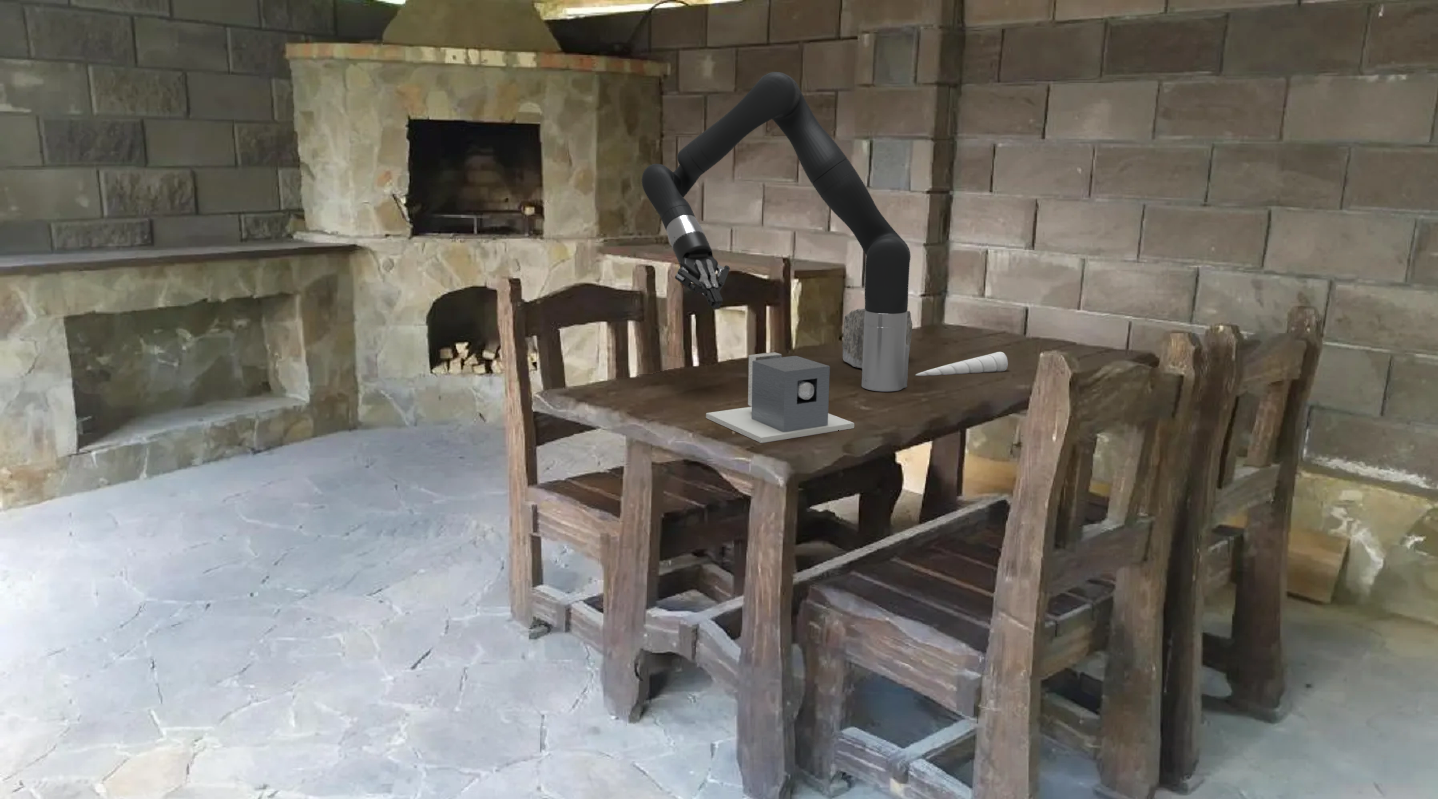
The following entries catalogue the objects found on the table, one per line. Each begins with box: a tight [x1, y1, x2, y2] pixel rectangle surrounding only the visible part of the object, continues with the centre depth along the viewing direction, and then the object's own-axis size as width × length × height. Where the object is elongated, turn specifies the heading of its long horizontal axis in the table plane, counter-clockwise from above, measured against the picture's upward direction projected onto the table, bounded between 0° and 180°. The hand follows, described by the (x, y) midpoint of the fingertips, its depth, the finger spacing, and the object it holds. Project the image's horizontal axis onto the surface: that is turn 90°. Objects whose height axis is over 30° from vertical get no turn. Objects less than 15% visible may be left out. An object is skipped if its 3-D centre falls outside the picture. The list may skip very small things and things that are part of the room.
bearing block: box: [751, 355, 831, 432], centre depth 195 cm, size 10×11×11 cm
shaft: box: [747, 351, 814, 407], centre depth 197 cm, size 6×16×10 cm, turn 31°
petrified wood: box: [841, 308, 913, 369], centre depth 253 cm, size 19×17×15 cm
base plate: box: [705, 406, 855, 444], centre depth 199 cm, size 21×20×1 cm
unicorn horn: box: [915, 351, 1009, 377], centre depth 245 cm, size 5×24×5 cm, turn 105°
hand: (717, 305), depth 215 cm, fingers closed
